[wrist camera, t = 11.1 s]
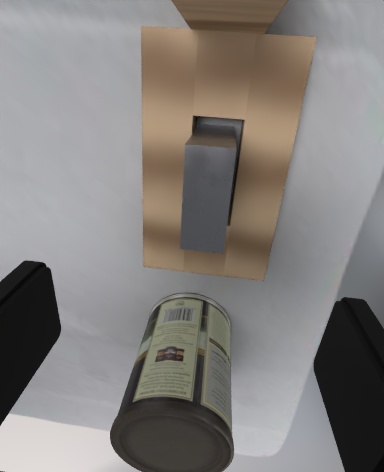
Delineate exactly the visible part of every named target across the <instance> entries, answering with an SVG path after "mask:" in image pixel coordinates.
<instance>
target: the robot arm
mask: <svg viewBox="0 0 384 472" xmlns="http://www.w3.org/2000/svg"><path fill="white" fill-rule="evenodd" d="M60 332H61V324H60V319H59V313H58V307H57V302H56V296H55V291H54V285H53V280H52V274H51V270H50V268H48V267H46V264H45V263H43V262H35V261H24V262H22V263H21V264H20V265H19V266H18V267H17V268H15V269H14V270H13V271H12V272H11V273H10V274H9V275H7V276H6V277H5V278H4V279H3V280H2V281H1V282H0V425H1V424H2V422H3V421H4V419H5V418H6V416H7V415H8V413H9V412H10V410H11V409H12V407H13V406H14V404H15V403H16V401H17V400H18V398H19V397H20V395H21V394H22V392H23V391H24V389H25V388H26V386H27V385H28V383H29V382H30V380H31V379H32V377H33V376H34V374H35V373H36V371H37V370H38V368H39V367H40V365H41V364H42V362H43V361H44V359H45V358H46V356H47V355H48V353H49V351H50V350H51V348H52V347H53V345H54V344H55V342H56V341H57V339H58V338H59V336H60ZM314 372H315V376H316V379H317V382H318V385H319V389H320V392H321V395H322V398H323V402H324V405H325V408H326V411H327V414H328V418H329V421H330V424H331V427H332V431H333V434H334V437H335V441H336V444H337V447H338V451H339V454H340V457H341V460H342V463H343V467H344V470H345V472H384V329H383V327H382V326H381V324H380V323H379V321H378V319H377V318H376V316H375V315H374V313H373V312H372V310H371V309H370V307H369V305H368V304H367V302H366V301H365V300H363V299H356V298H347V297H344V298H342V299H341V301H336V302H335V304H334V307H333V310H332V312H331V315H330V318H329V321H328V323H327V326H326V329H325V332H324V334H323V337H322V340H321V343H320V345H319V348H318V351H317V354H316V356H315V359H314ZM0 472H3V471H0Z"/></svg>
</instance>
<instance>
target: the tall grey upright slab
mask: <svg viewBox="0 0 384 472" xmlns="http://www.w3.org/2000/svg"><path fill="white" fill-rule="evenodd" d="M236 151H237V147H236V139H235V132H234V127H232V126H219V125H206V124H199V125H198V127H197V128H196V130H195V131H194V132H193V134H192V135H191V137H190V138H189V139H188V141H187V142H186V143H185V152H184V173H183V193H182V214H181V235H180V249H184V250H194V251H203V252H212V253H222V254H223V253H224V245H225V237H226V230H227V222H228V214H229V206H230V198H231V190H232V182H233V174H234V167H235V159H236Z"/></svg>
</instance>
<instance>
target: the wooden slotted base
mask: <svg viewBox="0 0 384 472" xmlns="http://www.w3.org/2000/svg"><path fill="white" fill-rule="evenodd" d="M172 2H173V3H174V5H175V6H176V8H177V9H178V11H179V12H180V14H181V15H182V17H183V18H184V19H185V21H186V22H187V24H188V25H189V27H190V28H191V29H180V28H165V27H149V26H141V55H142V155H143V255H144V267H150V268H158V269H167V270H175V271H184V272H192V273H201V274H209V275H218V276H227V277H235V278H244V279H252V280H261V281H264V279H265V274H266V269H267V265H268V260H269V256H270V251H271V246H272V242H273V237H274V233H275V228H276V223H277V219H278V214H279V209H280V205H281V200H282V196H283V191H284V186H285V182H286V177H287V173H288V168H289V163H290V159H291V154H292V150H293V145H294V140H295V136H296V131H297V127H298V122H299V117H300V113H301V108H302V104H303V99H304V94H305V90H306V85H307V81H308V76H309V71H310V67H311V62H312V57H313V53H314V48H315V44H316V39H317V37H307V36H291V35H275V34H264V33H265V32H266V31H267V29H268V28H269V27H270V25H271V24H272V22H273V21H274V20H275V18H276V17H277V15H278V14H279V13H280V11H281V10H282V8H283V7H284V6H285V4H286V3H287V2H288V0H172ZM196 116H207V117H219V118H231V119H243V120H242V128H241V135H240V143H239V150H238V157H237V165H236V172H235V180H234V187H233V194H232V202H231V209H230V213H229V214H228V222H227V230H226V237H225V245H224V253H223V254H222V253H212V252H203V251H194V250H184V249H180V235H181V214H182V193H183V173H184V152H185V143H186V142H187V141H188V139H189V138H190V137H191V135H192V134H193V132H194V131H195V127H196Z"/></svg>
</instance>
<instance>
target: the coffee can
mask: <svg viewBox="0 0 384 472" xmlns="http://www.w3.org/2000/svg"><path fill="white" fill-rule="evenodd" d="M230 332H231V324H230V320H229V317H228V315H227V314H226V312H225V311H224V309H223V308H222V307H220V306H219V305H218V304H217V303H216V302H214V301H213V300H211V299H209V298H207V297H204V296H201V295H198V294H189V293H181V294H175V295H171V296H168V297H166V298H164V299H162V300H161V301H160V302H158V303H157V304H156V305H155V306H154V307H153V309H152V311H151V313H150V316H149V321H148V324H147V327H146V330H145V334H144V337H143V339H142V343H141V345H140V349H139V352H138V355H137V358H136V361H135V364H134V367H133V370H132V373H131V376H130V379H129V382H128V385H127V388H126V391H125V394H124V397H123V400H122V403H121V407H120V410H119V413H118V416H117V417H116V419H115V420H114V423H113V425H112V428H111V431H110V440H111V444H112V447H113V449H114V450H115V452H116V453H117V454H118V455H119V456H120V457H121V458H122V459H123V460H124V461H125V462H126V463H128V464H129V465H131V466H132V467H134V468H136V469H137V470H140V471H142V472H222V471H224V470H225V469H226V468H227V467H228V466H229V465H230V463H231V462H232V459H233V456H234V445H233V438H232V410H231V352H230Z"/></svg>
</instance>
